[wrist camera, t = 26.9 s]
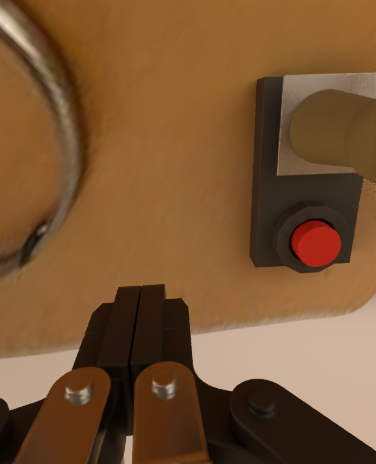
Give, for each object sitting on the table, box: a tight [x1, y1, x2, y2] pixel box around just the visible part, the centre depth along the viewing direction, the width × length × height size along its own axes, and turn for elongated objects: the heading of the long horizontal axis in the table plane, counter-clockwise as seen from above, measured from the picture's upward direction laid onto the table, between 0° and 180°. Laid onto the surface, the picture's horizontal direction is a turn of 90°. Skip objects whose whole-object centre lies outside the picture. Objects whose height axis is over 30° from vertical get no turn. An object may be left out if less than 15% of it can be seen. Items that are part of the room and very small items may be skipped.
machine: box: [250, 77, 363, 273], centre depth 32 cm, size 18×10×4 cm, turn 2°
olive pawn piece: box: [290, 89, 376, 183], centre depth 23 cm, size 6×6×11 cm
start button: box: [291, 220, 341, 267], centre depth 32 cm, size 4×4×2 cm
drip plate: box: [276, 73, 376, 176], centre depth 28 cm, size 8×8×1 cm
